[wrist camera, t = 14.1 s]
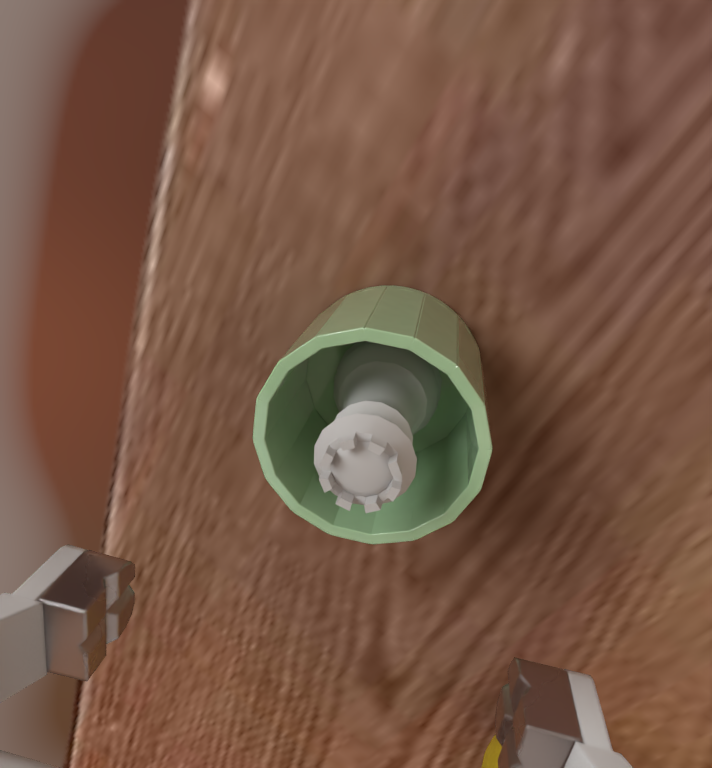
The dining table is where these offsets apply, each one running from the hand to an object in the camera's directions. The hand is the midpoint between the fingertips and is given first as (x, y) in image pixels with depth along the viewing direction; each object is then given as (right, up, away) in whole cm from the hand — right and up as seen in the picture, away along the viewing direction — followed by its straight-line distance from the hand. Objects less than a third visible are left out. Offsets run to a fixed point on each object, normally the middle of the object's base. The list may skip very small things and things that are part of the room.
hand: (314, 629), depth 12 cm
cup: (+2, +5, +13) cm, 14 cm away
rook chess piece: (+2, +5, +12) cm, 14 cm away
